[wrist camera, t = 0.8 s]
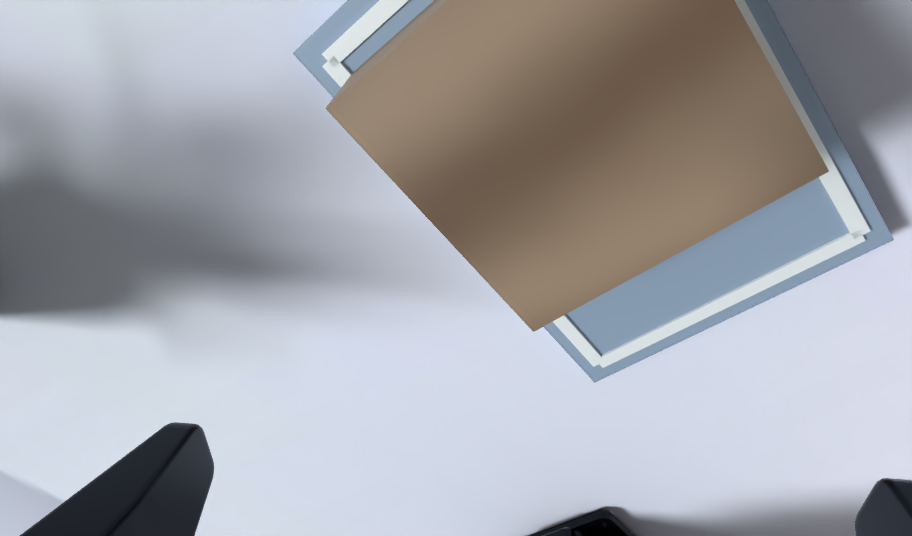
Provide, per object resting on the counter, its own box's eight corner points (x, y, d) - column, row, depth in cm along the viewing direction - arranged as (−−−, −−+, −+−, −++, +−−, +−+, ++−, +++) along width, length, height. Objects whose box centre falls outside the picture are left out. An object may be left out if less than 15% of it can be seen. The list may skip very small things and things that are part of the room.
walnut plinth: (788, 126, 18) (829, 171, 16) (532, 276, 22) (533, 331, 19) (621, -166, 15) (640, -168, 12) (352, 72, 18) (325, 108, 16)
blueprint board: (882, 226, 20) (895, 241, 20) (592, 368, 25) (594, 384, 24) (620, -261, 14) (625, -268, 13) (301, 46, 19) (291, 54, 18)
